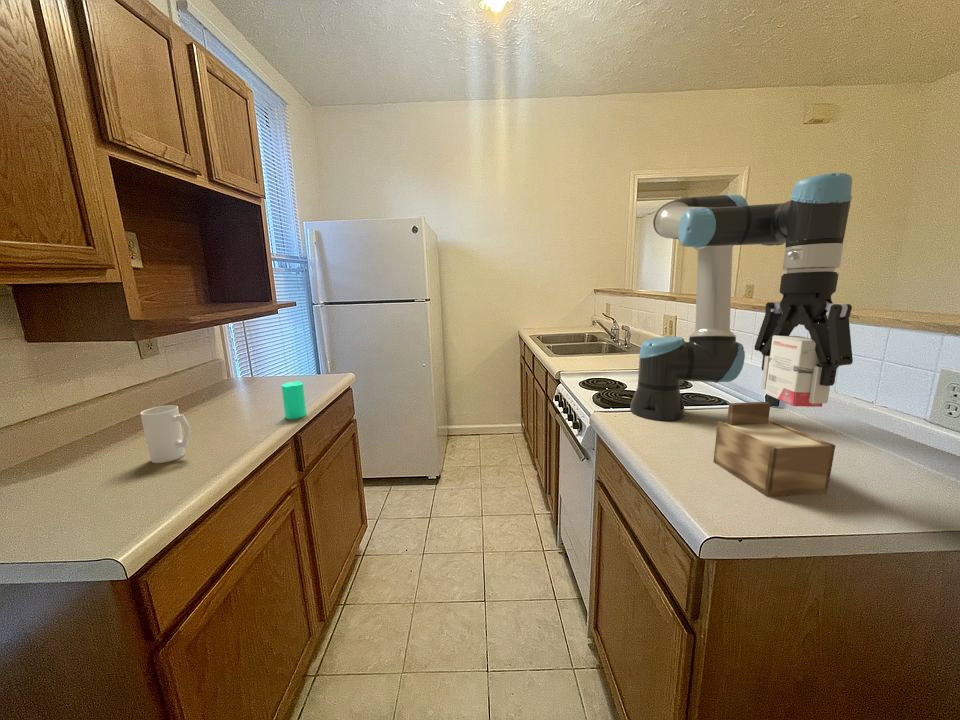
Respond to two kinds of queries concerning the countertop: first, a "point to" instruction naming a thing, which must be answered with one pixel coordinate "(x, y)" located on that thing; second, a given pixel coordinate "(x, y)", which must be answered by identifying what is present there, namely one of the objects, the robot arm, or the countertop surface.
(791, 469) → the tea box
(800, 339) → the ink box
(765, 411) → the lid
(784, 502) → the countertop surface
